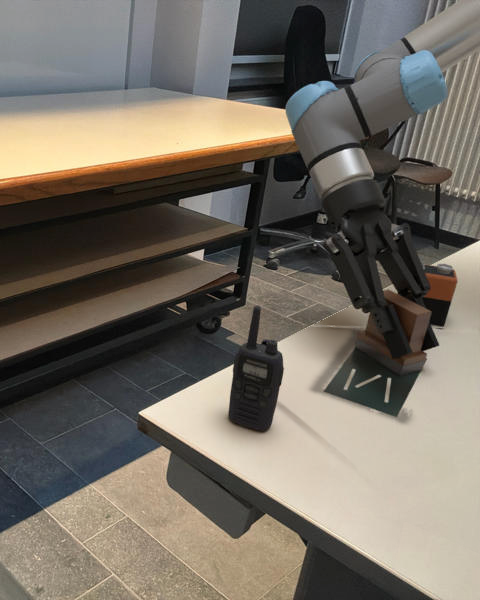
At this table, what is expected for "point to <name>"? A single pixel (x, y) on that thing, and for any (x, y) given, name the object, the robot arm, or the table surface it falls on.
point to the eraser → (414, 328)
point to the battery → (439, 291)
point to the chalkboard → (371, 384)
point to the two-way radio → (256, 380)
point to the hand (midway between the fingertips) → (416, 352)
